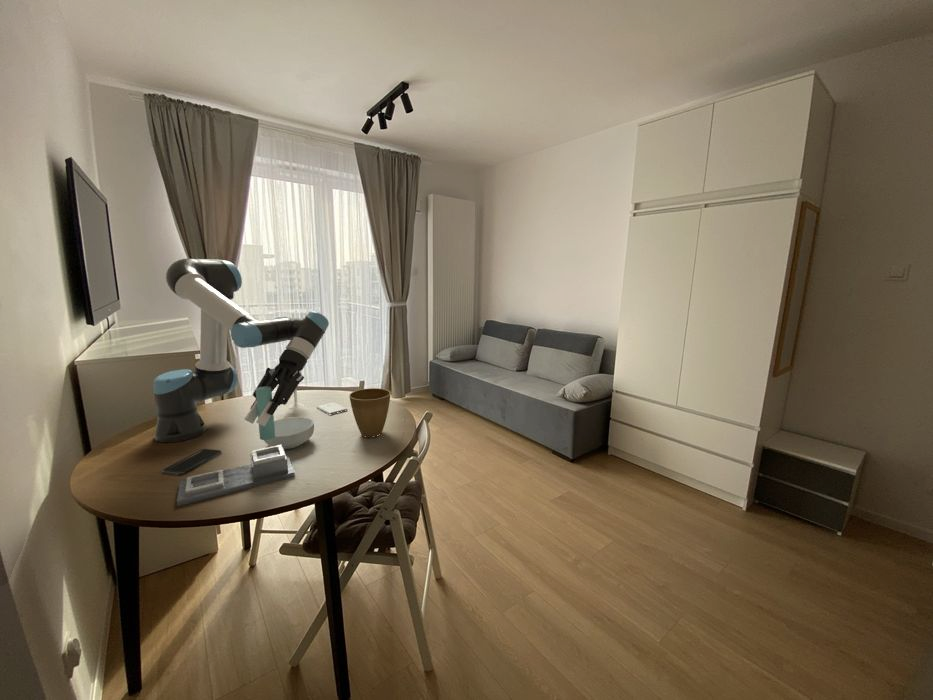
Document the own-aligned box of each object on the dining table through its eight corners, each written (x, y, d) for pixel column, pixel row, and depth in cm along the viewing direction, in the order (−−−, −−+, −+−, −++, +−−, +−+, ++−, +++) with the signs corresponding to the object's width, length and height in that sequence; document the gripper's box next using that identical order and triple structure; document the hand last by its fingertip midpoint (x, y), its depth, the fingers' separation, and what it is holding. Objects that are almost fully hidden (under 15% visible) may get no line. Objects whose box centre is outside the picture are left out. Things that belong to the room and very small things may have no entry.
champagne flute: (301, 403, 176) (297, 352, 172) (306, 406, 171) (302, 355, 167) (286, 406, 172) (281, 354, 167) (290, 410, 167) (286, 357, 162)
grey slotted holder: (177, 506, 98) (173, 482, 96) (181, 484, 108) (177, 463, 106) (294, 476, 113) (293, 455, 111) (288, 460, 122) (286, 440, 121)
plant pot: (399, 434, 144) (398, 393, 141) (364, 446, 133) (362, 402, 130) (378, 423, 154) (376, 385, 151) (344, 433, 144) (341, 393, 141)
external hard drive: (329, 416, 162) (316, 409, 170) (347, 412, 168) (334, 405, 176) (329, 413, 161) (316, 405, 170) (347, 408, 167) (333, 401, 176)
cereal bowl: (270, 436, 140) (268, 418, 139) (317, 432, 144) (316, 414, 143) (257, 457, 124) (255, 437, 123) (311, 452, 128) (310, 433, 127)
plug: (256, 438, 111) (252, 389, 108) (268, 433, 114) (264, 385, 111) (266, 441, 109) (262, 391, 106) (278, 435, 113) (274, 387, 110)
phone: (160, 470, 114) (203, 448, 128) (161, 474, 114) (203, 451, 128) (183, 473, 112) (223, 450, 127) (183, 476, 112) (223, 453, 127)
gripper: (324, 364, 119) (285, 433, 107) (283, 358, 125) (242, 423, 113) (310, 350, 113) (267, 422, 101) (268, 345, 119) (223, 412, 107)
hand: (254, 422), depth 107 cm, fingers closed on plug, 4 cm apart
